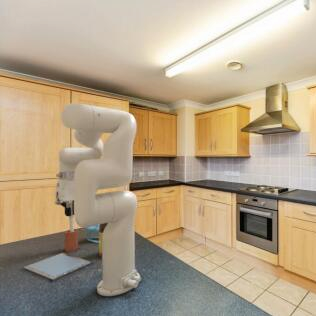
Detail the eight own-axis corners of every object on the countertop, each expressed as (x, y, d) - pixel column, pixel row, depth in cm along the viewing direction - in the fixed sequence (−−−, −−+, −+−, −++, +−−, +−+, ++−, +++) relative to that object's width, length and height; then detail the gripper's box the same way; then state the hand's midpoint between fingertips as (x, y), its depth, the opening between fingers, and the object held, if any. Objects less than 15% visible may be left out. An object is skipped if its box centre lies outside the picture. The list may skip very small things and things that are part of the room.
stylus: (75, 235, 97) (72, 202, 97) (71, 236, 95) (69, 203, 96) (73, 235, 97) (71, 202, 97) (69, 236, 96) (67, 203, 96)
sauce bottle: (107, 258, 89) (106, 211, 89) (95, 257, 90) (94, 211, 90) (119, 251, 95) (118, 207, 95) (107, 250, 97) (106, 207, 96)
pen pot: (80, 249, 98) (79, 230, 98) (68, 253, 94) (68, 233, 94) (74, 247, 100) (73, 228, 100) (62, 251, 95) (62, 232, 95)
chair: (95, 237, 112) (95, 214, 112) (109, 237, 111) (109, 215, 111) (82, 243, 105) (82, 219, 105) (97, 243, 104) (97, 219, 103)
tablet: (91, 263, 85) (91, 261, 85) (52, 281, 73) (52, 278, 73) (62, 254, 93) (62, 252, 93) (23, 269, 81) (23, 266, 81)
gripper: (54, 177, 88) (55, 221, 88) (93, 174, 102) (93, 212, 102) (44, 176, 91) (45, 219, 91) (83, 173, 105) (83, 210, 105)
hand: (70, 215), depth 97 cm, fingers closed on stylus, 1 cm apart
